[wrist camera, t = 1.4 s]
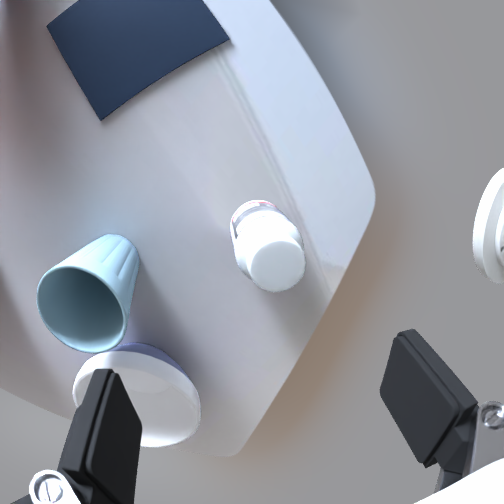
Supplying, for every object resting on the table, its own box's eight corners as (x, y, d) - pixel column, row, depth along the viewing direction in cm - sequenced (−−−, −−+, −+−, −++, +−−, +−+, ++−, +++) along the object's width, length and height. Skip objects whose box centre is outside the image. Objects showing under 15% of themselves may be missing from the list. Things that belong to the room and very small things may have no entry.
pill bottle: (282, 252, 31) (310, 300, 22) (228, 252, 30) (237, 302, 21) (286, 199, 29) (320, 229, 20) (230, 198, 28) (239, 228, 19)
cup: (139, 303, 31) (116, 367, 22) (76, 277, 29) (34, 331, 20) (160, 240, 29) (137, 290, 19) (91, 213, 27) (41, 250, 18)
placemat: (162, -49, 18) (162, -50, 18) (229, 39, 23) (229, 38, 23) (47, 26, 19) (46, 26, 19) (101, 120, 24) (100, 120, 24)
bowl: (68, 341, 32) (47, 381, 25) (163, 303, 32) (153, 348, 25) (131, 413, 38) (123, 454, 30) (220, 389, 37) (224, 434, 30)
